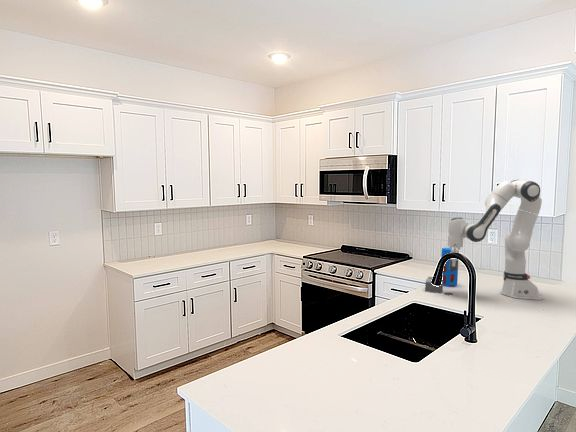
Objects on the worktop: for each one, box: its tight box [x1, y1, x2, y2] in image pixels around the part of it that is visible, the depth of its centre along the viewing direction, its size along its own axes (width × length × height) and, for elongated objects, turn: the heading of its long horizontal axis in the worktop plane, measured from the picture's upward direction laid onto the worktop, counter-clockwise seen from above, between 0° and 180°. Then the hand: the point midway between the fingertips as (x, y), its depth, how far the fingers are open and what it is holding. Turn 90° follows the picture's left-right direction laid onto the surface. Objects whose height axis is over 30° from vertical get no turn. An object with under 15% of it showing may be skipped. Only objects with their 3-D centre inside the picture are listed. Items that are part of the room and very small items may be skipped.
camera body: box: [424, 276, 444, 294], centre depth 253 cm, size 10×9×8 cm
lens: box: [449, 259, 459, 271], centre depth 245 cm, size 5×5×8 cm
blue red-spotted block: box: [440, 247, 460, 288], centre depth 267 cm, size 11×11×25 cm
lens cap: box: [443, 291, 454, 296], centre depth 245 cm, size 6×6×1 cm
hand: (453, 265), depth 245 cm, fingers closed on lens, 5 cm apart
